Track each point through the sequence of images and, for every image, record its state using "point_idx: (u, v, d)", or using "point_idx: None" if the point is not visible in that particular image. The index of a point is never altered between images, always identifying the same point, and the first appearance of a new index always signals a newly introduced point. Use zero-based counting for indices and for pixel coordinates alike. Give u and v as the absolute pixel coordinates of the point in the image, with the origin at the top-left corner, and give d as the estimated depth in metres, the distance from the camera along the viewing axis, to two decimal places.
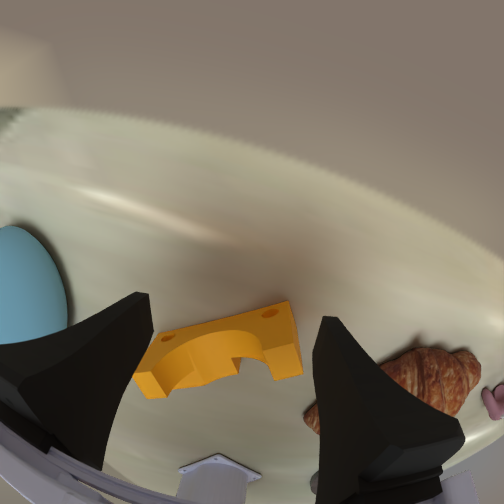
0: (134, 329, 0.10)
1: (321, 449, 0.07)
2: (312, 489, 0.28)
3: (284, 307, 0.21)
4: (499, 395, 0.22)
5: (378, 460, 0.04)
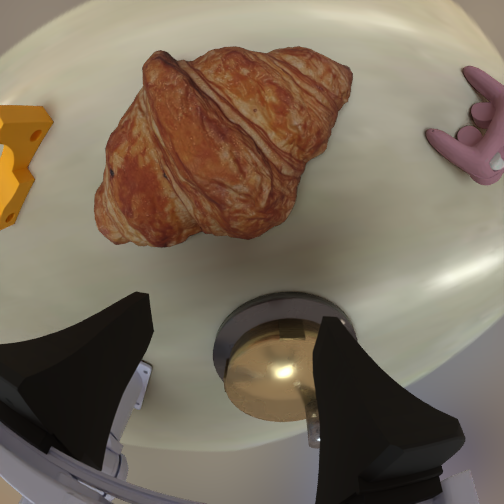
0: (134, 329, 0.10)
1: (321, 449, 0.07)
2: None
3: None
4: (470, 141, 0.15)
5: (378, 460, 0.04)
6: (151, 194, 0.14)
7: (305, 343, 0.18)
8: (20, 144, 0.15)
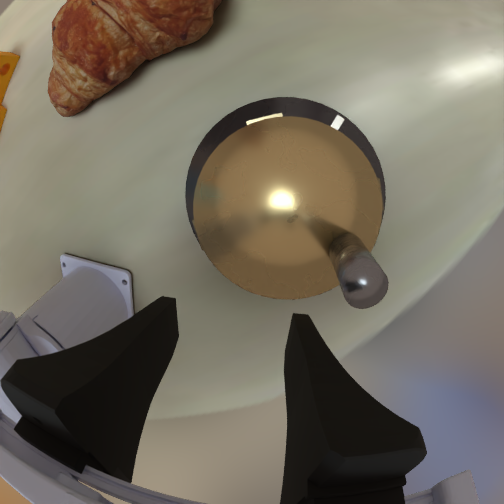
0: (163, 335, 0.09)
1: (287, 448, 0.07)
2: None
3: None
4: None
5: (322, 465, 0.04)
6: (83, 22, 0.09)
7: None
8: None
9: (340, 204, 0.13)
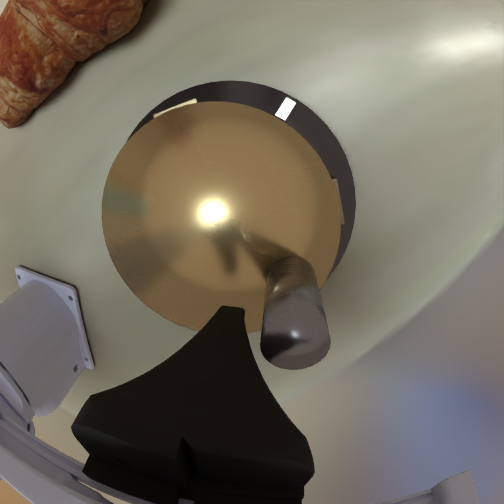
0: None
1: None
2: None
3: None
4: None
5: (188, 454, 0.04)
6: (9, 32, 0.06)
7: (195, 103, 0.09)
8: None
9: (278, 217, 0.10)
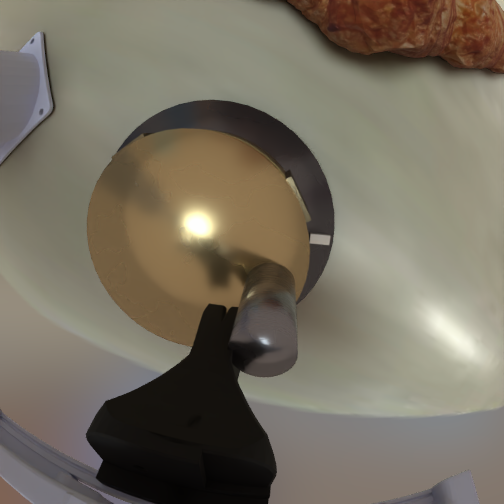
0: None
1: None
2: None
3: None
4: None
5: None
6: None
7: (141, 138, 0.09)
8: None
9: (241, 228, 0.10)
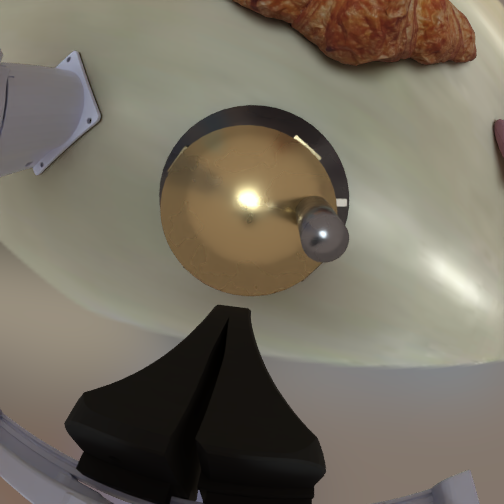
0: (224, 346, 0.09)
1: None
2: None
3: None
4: None
5: (200, 455, 0.04)
6: None
7: (186, 148, 0.14)
8: None
9: (278, 181, 0.14)
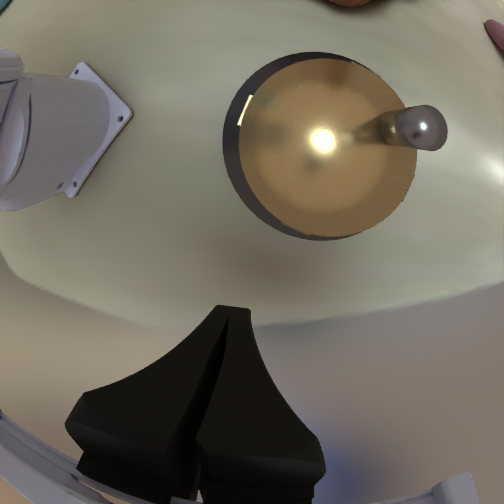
0: (224, 346, 0.09)
1: None
2: (227, 161, 0.17)
3: None
4: None
5: (200, 455, 0.04)
6: None
7: (253, 95, 0.13)
8: None
9: (353, 104, 0.12)
